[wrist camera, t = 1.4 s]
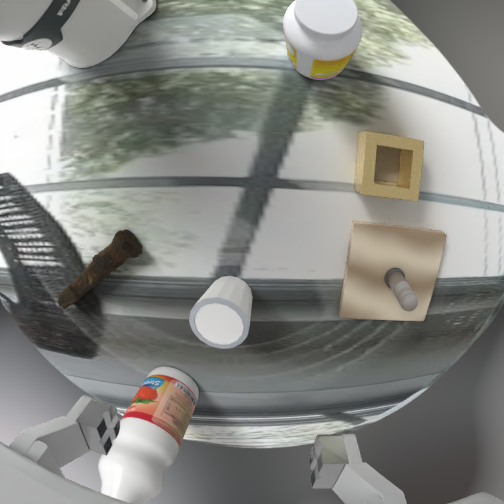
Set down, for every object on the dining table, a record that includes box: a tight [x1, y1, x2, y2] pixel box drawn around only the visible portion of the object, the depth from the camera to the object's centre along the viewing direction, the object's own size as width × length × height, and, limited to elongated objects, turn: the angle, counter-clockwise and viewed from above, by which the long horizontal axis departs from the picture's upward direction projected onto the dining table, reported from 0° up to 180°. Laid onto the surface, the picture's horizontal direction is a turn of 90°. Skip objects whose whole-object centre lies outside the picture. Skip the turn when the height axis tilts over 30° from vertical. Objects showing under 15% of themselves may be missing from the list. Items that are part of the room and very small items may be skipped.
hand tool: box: [58, 230, 142, 309], centre depth 40 cm, size 19×4×5 cm, turn 123°
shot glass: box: [189, 276, 253, 349], centre depth 36 cm, size 7×7×7 cm
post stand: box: [338, 221, 446, 321], centre depth 31 cm, size 12×12×8 cm
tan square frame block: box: [354, 131, 424, 202], centre depth 29 cm, size 6×6×4 cm
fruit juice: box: [98, 367, 199, 504], centre depth 35 cm, size 9×9×28 cm
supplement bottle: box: [283, 0, 362, 80], centre depth 22 cm, size 7×7×13 cm
